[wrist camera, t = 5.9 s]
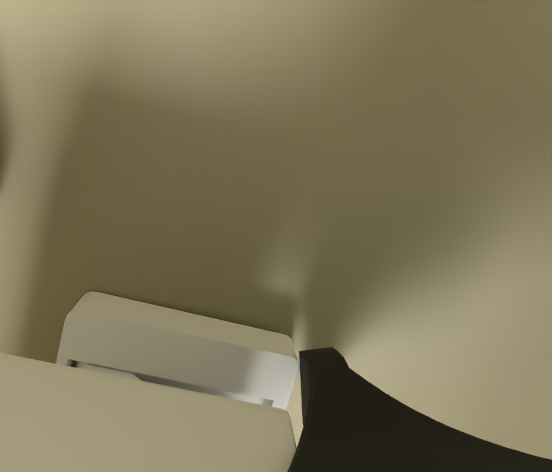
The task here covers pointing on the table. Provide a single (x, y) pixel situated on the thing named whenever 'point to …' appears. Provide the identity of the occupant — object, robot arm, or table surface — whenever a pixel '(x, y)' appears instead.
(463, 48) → the table surface
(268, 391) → the security camera
